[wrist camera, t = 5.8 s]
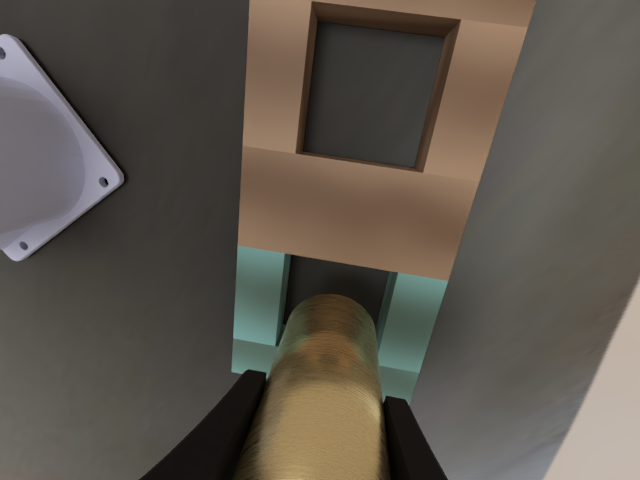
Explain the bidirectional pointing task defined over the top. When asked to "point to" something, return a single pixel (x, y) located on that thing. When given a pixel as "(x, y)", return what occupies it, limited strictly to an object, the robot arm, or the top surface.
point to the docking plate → (365, 171)
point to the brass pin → (320, 400)
